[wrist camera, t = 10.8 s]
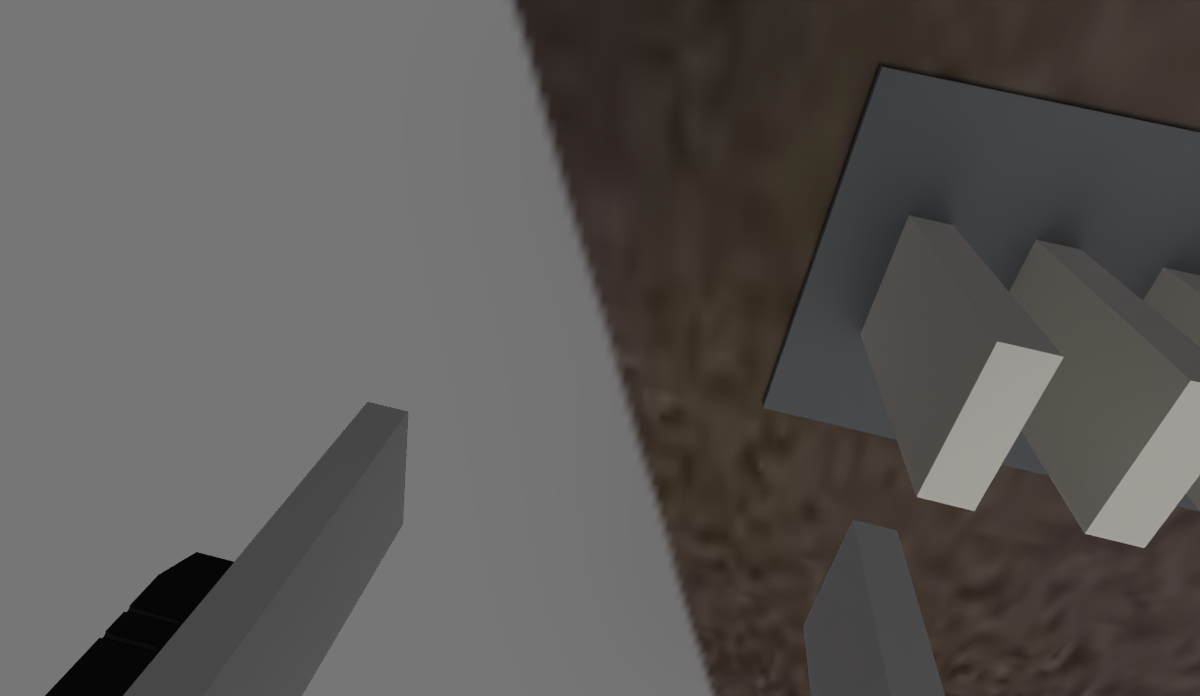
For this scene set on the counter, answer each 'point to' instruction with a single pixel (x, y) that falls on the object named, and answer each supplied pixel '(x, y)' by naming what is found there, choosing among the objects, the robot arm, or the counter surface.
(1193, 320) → the domino
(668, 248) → the counter surface
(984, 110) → the mat
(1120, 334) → the domino
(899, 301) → the end domino
